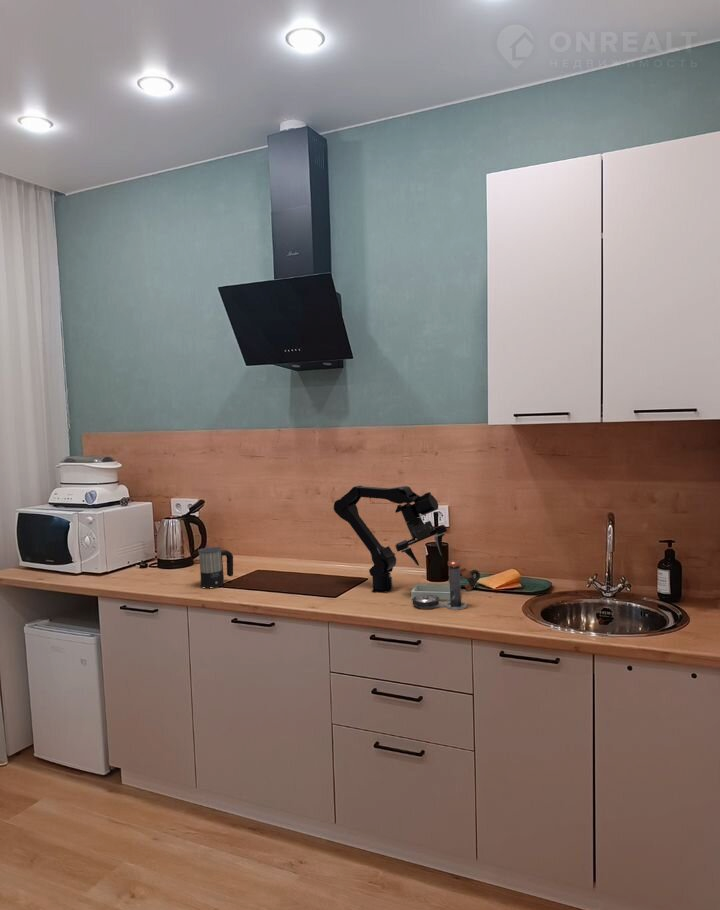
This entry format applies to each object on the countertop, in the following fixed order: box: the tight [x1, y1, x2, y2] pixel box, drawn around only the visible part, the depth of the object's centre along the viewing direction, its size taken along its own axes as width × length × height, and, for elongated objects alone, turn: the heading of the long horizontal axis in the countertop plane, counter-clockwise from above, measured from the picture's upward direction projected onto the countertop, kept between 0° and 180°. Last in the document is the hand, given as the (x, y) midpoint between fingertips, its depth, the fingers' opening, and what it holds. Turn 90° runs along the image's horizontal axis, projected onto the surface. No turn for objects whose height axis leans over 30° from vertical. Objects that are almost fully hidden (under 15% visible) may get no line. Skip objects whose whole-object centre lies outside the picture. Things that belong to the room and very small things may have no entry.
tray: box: [410, 583, 450, 602], centre depth 235 cm, size 16×10×3 cm, turn 76°
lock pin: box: [447, 559, 462, 607], centre depth 222 cm, size 4×4×15 cm
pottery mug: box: [448, 567, 481, 592], centre depth 246 cm, size 12×10×8 cm
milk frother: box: [197, 546, 234, 589], centre depth 267 cm, size 14×16×15 cm
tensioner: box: [411, 595, 467, 611], centre depth 223 cm, size 18×9×3 cm, turn 76°
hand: (430, 560), depth 236 cm, fingers open, 9 cm apart
